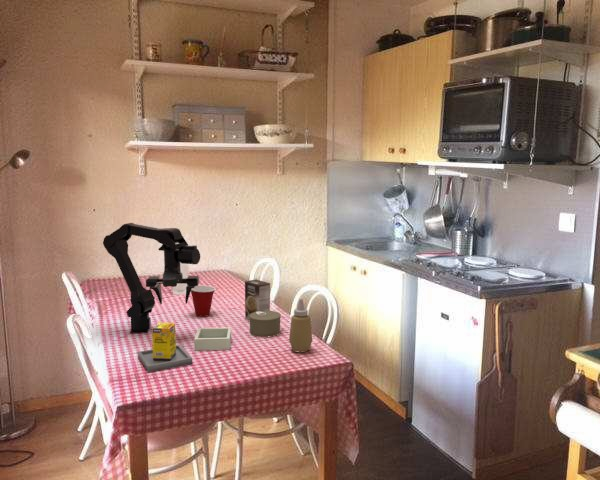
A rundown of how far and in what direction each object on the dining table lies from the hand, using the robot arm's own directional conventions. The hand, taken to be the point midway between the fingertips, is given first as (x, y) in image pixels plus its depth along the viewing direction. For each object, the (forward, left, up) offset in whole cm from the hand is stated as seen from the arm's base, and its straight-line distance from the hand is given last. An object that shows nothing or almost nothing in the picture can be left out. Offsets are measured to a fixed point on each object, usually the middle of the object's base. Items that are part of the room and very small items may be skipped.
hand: (173, 303), depth 193 cm
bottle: (-7, +63, -12) cm, 65 cm away
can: (+34, +1, -12) cm, 36 cm away
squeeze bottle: (+46, -19, -12) cm, 51 cm away
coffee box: (+31, +16, -12) cm, 37 cm away
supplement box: (+1, -25, -11) cm, 28 cm away
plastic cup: (+8, +25, -12) cm, 29 cm away
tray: (+1, -26, -12) cm, 28 cm away
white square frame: (+15, -11, -12) cm, 22 cm away
